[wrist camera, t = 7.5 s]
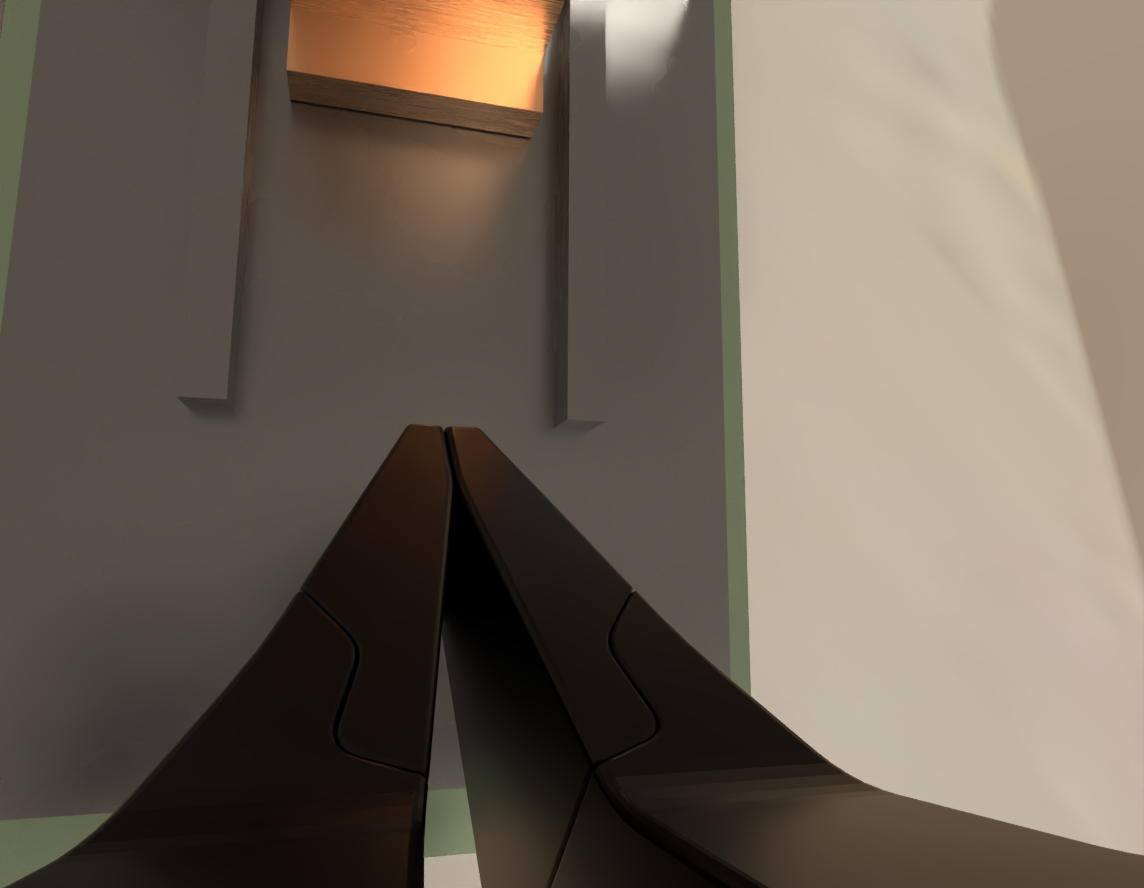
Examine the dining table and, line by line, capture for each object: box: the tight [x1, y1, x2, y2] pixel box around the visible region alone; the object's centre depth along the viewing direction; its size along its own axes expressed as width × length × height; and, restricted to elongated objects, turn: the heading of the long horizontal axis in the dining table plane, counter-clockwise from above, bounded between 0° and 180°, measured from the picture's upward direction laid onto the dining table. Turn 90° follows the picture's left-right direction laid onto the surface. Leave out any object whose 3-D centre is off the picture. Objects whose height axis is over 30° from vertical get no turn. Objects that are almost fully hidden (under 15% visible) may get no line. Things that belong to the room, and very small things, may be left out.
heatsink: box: [0, 0, 751, 888], centre depth 15 cm, size 25×16×5 cm, turn 179°
